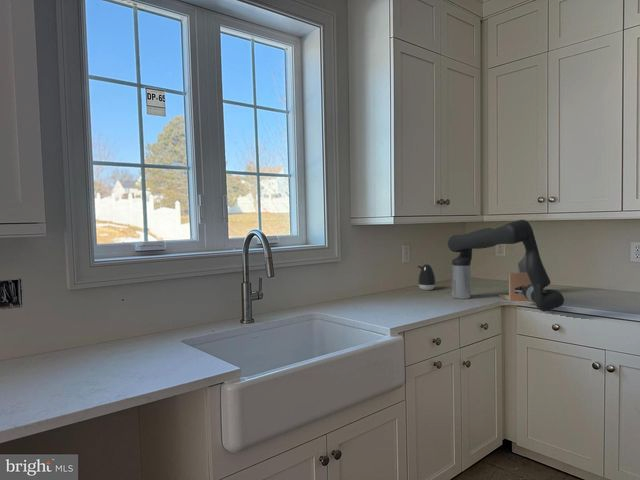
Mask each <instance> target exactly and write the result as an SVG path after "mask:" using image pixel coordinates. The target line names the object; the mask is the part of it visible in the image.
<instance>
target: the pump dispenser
mask: <svg viewBox="0 0 640 480" xmlns="http://www.w3.org/2000/svg"><path fill="white" fill-rule="evenodd" d="M417 268H419V269H420V271H419V275H418V278H417V279H418V281H417V284H418V286H419V288H420V289H421V290H422V291H433V289H435V286H436V283H437V282H436V274H435V272H434V269H433V267H432V266H431V265H430V264H428V263H425V264H423V265H422V266H421V265H417Z"/></svg>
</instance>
